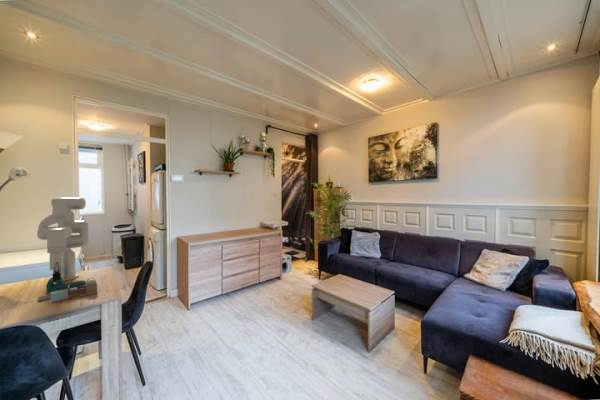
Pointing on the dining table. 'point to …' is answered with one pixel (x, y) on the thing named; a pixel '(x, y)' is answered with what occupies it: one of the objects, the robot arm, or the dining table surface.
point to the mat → (44, 298)
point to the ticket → (60, 294)
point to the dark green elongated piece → (62, 285)
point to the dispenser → (84, 289)
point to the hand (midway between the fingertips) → (56, 278)
